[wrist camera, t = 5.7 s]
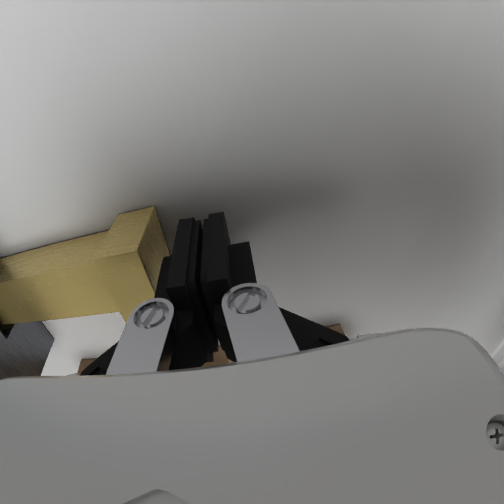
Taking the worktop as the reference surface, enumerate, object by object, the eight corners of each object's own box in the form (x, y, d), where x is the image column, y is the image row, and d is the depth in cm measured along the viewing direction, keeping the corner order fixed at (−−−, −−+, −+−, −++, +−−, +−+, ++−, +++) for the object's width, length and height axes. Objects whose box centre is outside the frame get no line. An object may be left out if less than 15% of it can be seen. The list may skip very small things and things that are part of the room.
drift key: (154, 206, 12) (136, 250, 9) (178, 278, 14) (171, 330, 11) (-26, 256, 12) (-55, 292, 9) (4, 305, 14) (-18, 344, 11)
